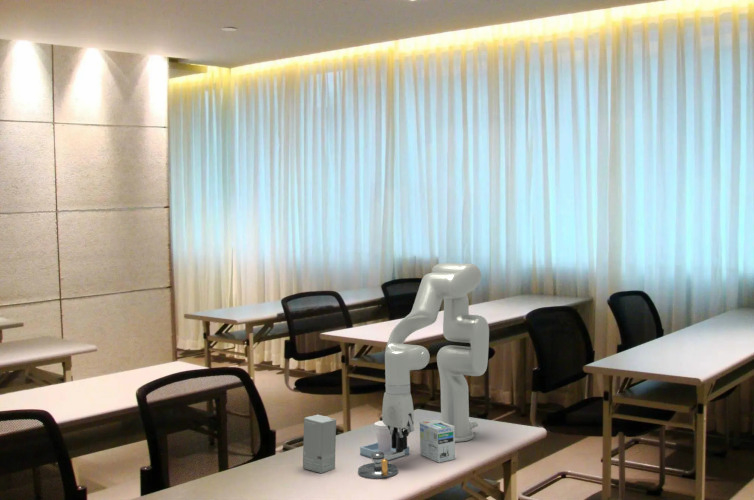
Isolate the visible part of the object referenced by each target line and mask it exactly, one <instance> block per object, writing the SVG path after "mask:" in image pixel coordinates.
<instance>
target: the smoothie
mask: <svg viewBox="0 0 754 500" xmlns="http://www.w3.org/2000/svg"><path fill="white" fill-rule="evenodd" d="M374 428H375V432H376V439H377V442H378V447H379V452H383V453H387V452H391V445H392V435H390V430H389V429H388V427H387V426H386V425H385V424H384V423H383V421H382V420H379V421H376V422H374Z"/></svg>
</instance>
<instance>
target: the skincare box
mask: <svg viewBox="0 0 754 500" xmlns="http://www.w3.org/2000/svg"><path fill="white" fill-rule="evenodd" d="M336 437H337V419H336V418H332V417H329V416H326V415H321V414H316V415H315V414H314V415H311V416H310V415H309V416H306V417H304V418H303V446H302V447H303V449H302V450H303V451H302V452H303V453H302V468H303V469H305V470H308V471H311V472H316V473H320V474H323V473H326V472H328V471H332V470H334V469H336V445H337V444H336V443H337V441H336V440H337V439H336Z"/></svg>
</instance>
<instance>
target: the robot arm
mask: <svg viewBox="0 0 754 500" xmlns="http://www.w3.org/2000/svg"><path fill="white" fill-rule="evenodd" d="M481 277H482V274H481V270H480V268H479V266H478V265H476V264H473V263H460V262H459V263H456V262H455V263H454V262H445V263H444V262H442V263H437V264H435V265H434V266H433V267H432V269H431V272H430V273H426V274H425V275H424V276H423V277H422V278H421V282H420V284H419V287H418V291H417V292H416V296H415V299H414V303H413V305H412V309H411V311H410V312H409V314H407V315H406V316H405V317H404V318H402V319H401V320H400V321H399V322H398V323H397V324H396V325H395V327H394V328H393V329H392V330H391V333H390V334H389V338H388V340H387V343H386V346H385V351H384V365H385V366H384V370H385V372H384V375H385V384H384V386H385V392H384V393H383V399H382V409H381V410H382V412H381V413H382V417H381V418H382V420H381V421H383V423H384V424H385V425H386V426H387V427H388V429H389V430H390V435H392V448H396V433H398V432H399V436H400V437H398V449H399V450H404V449H407V446H408V437H409V434H410V433H412V432H414V431H415V427H414V425H415V412H414V402H413V398H412V394H411V377H410V376H411V371H417V370H422V369H424V368H426V366H428V364H429V362H430V358H431V357H430V353H429V350H428V349H427V348H426V346H425V347H424V346H422V345H417V344H408V343H405V341H406V339H407V338H408V337H410V335H412V334H413V333H415V332H417V331H419V330H421V329H424V328H427V327H429V326H431V325H433V324H434V323H436V322H437V319H438V315H439V314H440V313H439V312H440V310H441V306H442V303H443V316H442V317H443V321H442V333H443V334H442V335H443V337H444V338H445V339H446V340H447V341H450V342H455V343H457V342H458V343H465V344H466V343H468V344H470V346H463V345H451V344H449V345H445V346H443V347H441V348H440V349H439V350H438V352H437V354H436V363H437V369H438V373H439V374H438V375H439V382H440V414H441V415H440V416H441V417H440V419H441V420H440V421H441V422H444V423H447V424H450V425H453V426H454V427H455V443H459V442H467V441H471V440H472V439H474V437H475V435H474V434H475V433H474V432H473V431H472V429H474V428H477V427H478V426H479V423H478V422H477V421H473V422H470V411H469V410H470V408H469V407H470V406H469V403H470V402H469V398H470V397H469V385H468V381H467V379H466V377H465V376H471V377H481V376H482V375H484V374H485V372H486V371H487V368H488V361H489V360H488V359H489V342H490V341H489V340H490V326H489V323H488V320H487V319H486V318H485V317H484V316H482V315H478V314H470V313H469V311H470V310H469V307H470V305H469V304H470V303H469V297H468V294H469V293H471V292H473V291H474V290H475V289H476V288H477V287H479V285H480V282H481V279H482V278H481Z"/></svg>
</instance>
